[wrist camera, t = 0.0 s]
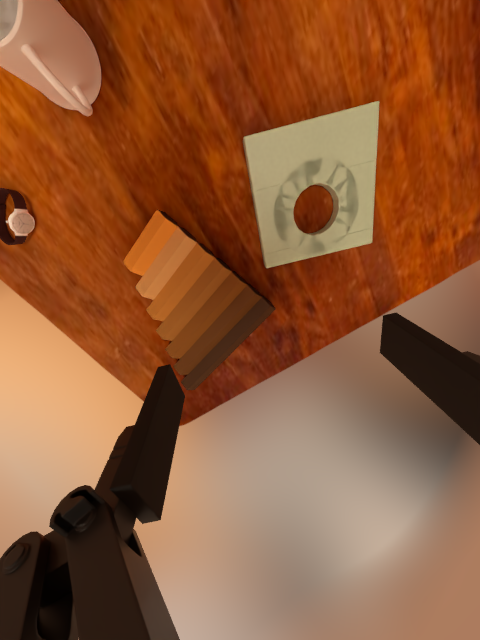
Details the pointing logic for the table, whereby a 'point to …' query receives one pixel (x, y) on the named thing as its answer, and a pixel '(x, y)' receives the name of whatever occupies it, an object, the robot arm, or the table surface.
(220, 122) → the table surface
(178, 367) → the pan flute
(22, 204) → the watch
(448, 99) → the table surface
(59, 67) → the mug
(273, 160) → the mounting pad
